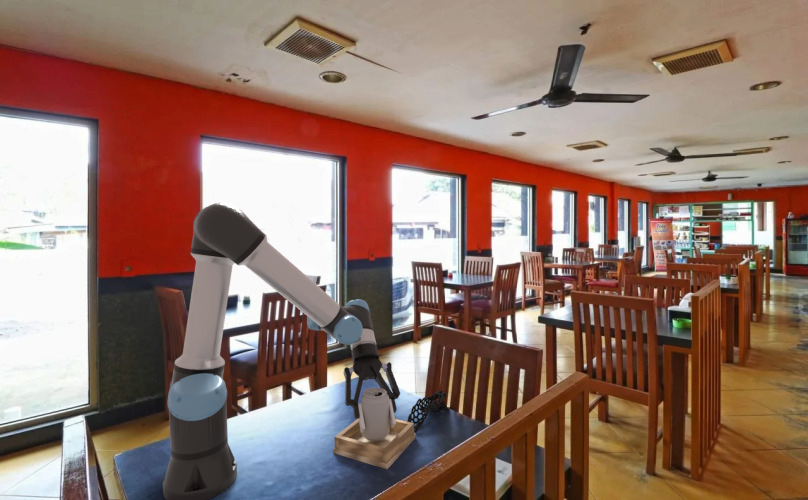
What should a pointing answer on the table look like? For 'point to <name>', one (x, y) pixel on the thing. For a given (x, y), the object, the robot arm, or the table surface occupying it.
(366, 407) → the can
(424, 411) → the decorative element
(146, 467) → the table surface
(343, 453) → the wooden tray
